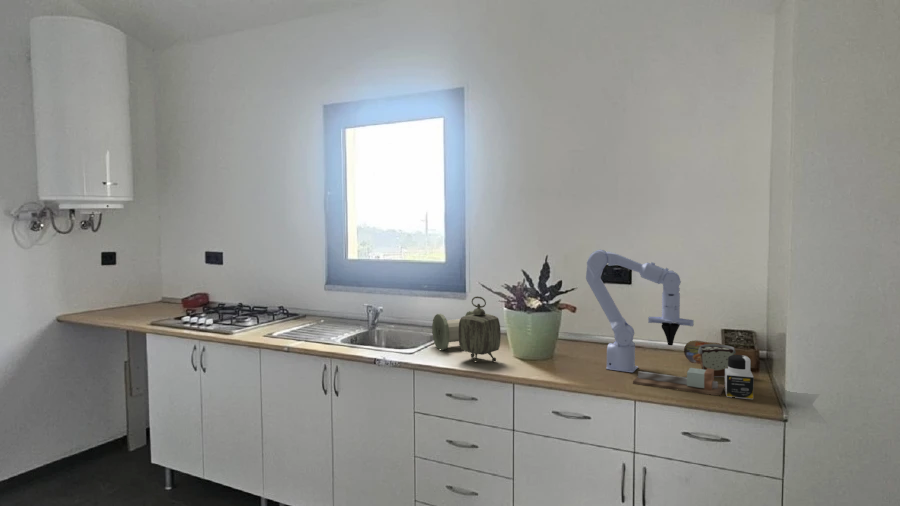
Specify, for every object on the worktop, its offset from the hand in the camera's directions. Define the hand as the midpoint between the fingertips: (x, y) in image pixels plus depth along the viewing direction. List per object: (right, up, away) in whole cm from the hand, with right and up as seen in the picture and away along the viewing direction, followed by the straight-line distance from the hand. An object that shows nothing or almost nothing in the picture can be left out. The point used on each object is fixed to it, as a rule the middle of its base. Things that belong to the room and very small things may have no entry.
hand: (670, 344), depth 191 cm
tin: (+18, -9, +12) cm, 23 cm away
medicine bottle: (+11, -12, -24) cm, 29 cm away
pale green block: (+2, -10, -17) cm, 20 cm away
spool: (-74, -9, +43) cm, 86 cm away
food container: (+14, -10, -2) cm, 17 cm away
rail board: (-3, -11, -14) cm, 18 cm away
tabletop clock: (-66, -10, +20) cm, 69 cm away
